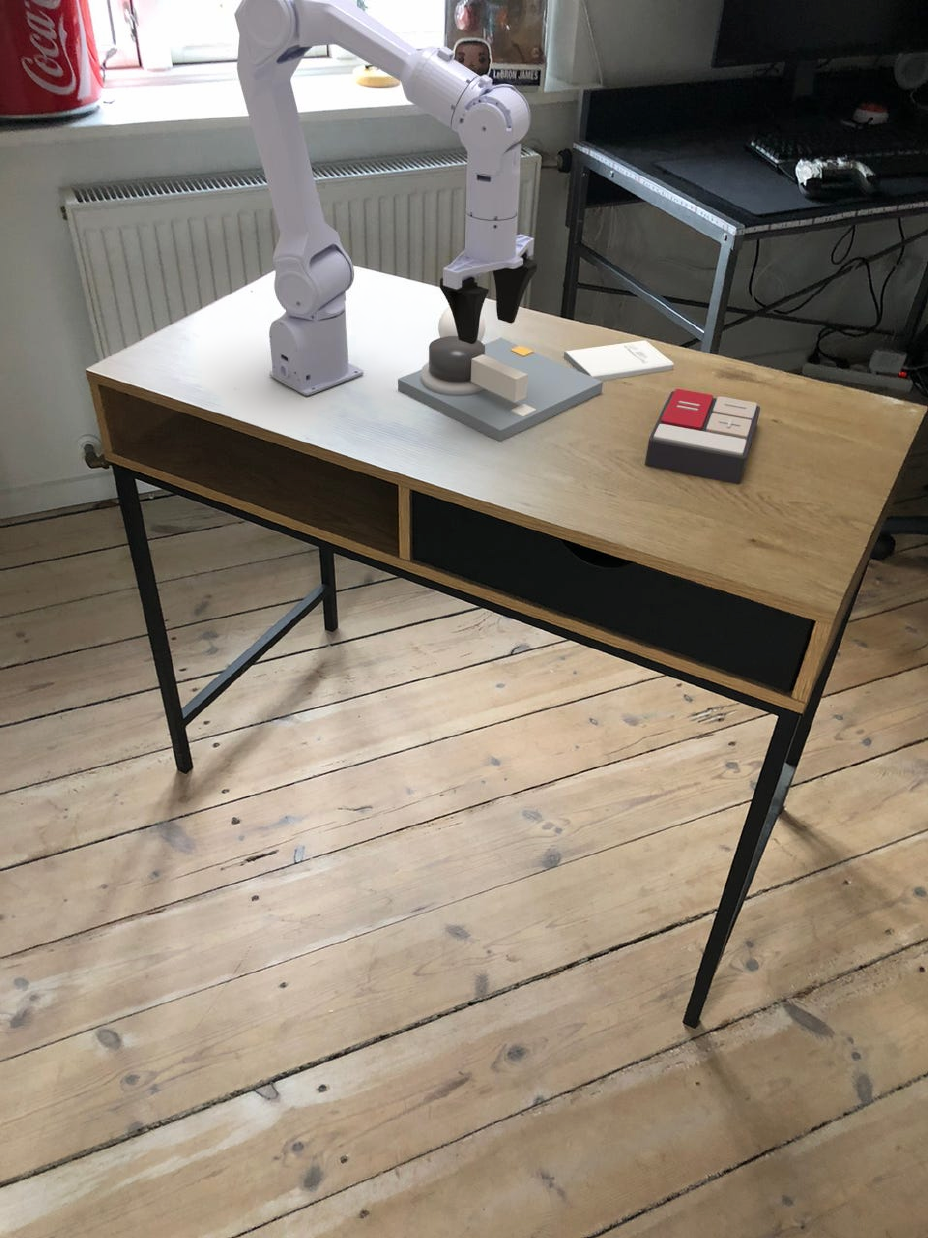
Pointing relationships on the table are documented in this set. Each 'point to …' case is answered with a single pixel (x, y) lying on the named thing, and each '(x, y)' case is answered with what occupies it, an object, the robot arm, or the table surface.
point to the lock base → (495, 414)
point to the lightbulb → (449, 327)
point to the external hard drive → (619, 360)
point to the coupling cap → (475, 367)
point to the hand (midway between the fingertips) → (487, 330)
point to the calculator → (703, 436)
